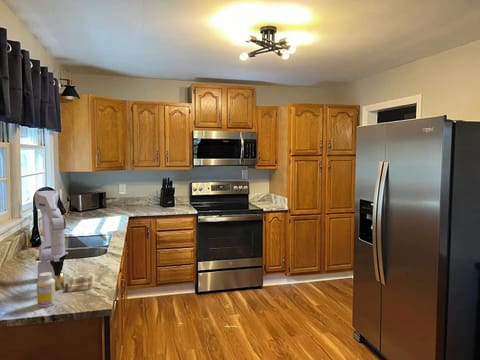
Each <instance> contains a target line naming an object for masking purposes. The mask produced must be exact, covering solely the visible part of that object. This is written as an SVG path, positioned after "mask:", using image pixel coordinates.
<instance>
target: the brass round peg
mask: <svg viewBox="0 0 480 360" xmlns="http://www.w3.org/2000/svg"><path fill="white" fill-rule="evenodd" d="M64 274H65V273H64V272H62V271H61V275H60V276H55V274H54V280H55V291H61V290H64V289H65V277H64Z"/></svg>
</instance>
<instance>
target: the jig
mask: <svg viewBox="0 0 480 360" xmlns="http://www.w3.org/2000/svg"><path fill="white" fill-rule="evenodd" d="M68 280H69V281H68V284H67V292H68V293H71V292H77V291H78V292H79V291H80V292H81V291H84V290H85V291H87V289H88V290H92V289H93V275H88V276H86V275H85V276H79V277H71V278H70V277H69V279H68Z"/></svg>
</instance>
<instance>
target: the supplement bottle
mask: <svg viewBox="0 0 480 360" xmlns="http://www.w3.org/2000/svg"><path fill="white" fill-rule="evenodd" d="M39 278H40V280H39V281H38V280H37V281H36V295H37V302H36V303H37V306H38V307H40V308H48V307H51V306H53V305H54V304H55V303H56V302H57V301H56V299H57V298H56V290H55V280H54V279H53V278H52V273H51V272H45V273H41V274H39Z"/></svg>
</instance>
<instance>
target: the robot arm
mask: <svg viewBox="0 0 480 360" xmlns="http://www.w3.org/2000/svg"><path fill="white" fill-rule="evenodd" d="M58 201H59V192H58V191H57V190H56V189H55V190H39V191H35V193H34V202H35V207H36V209H37V210H39V211H40V213H41V220H42V221H41V222H42V231H43V241H44V242H42V243H41V244H40V245H39V247H38V258H39V259H38V260H39V261H38V263H37V282H38V281H39V280H40V278H39V274H41V273H45V272H51V273H52V278H53V279H54V274H55V276H60V275H61V272H62V271H63V268H64V262H65V258H66V257H67V255H68V254H69V252H68V251H66V240H65V239H66V237H65V230H66V228H67V221H66V217H65V216H63V215H62V212H61V210H60V208H59V207H57V205H58Z"/></svg>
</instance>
